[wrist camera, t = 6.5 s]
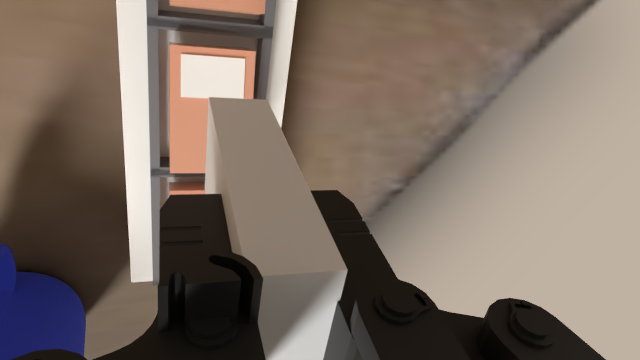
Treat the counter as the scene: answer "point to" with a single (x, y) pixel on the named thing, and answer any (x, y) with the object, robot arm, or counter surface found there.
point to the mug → (37, 312)
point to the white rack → (153, 97)
